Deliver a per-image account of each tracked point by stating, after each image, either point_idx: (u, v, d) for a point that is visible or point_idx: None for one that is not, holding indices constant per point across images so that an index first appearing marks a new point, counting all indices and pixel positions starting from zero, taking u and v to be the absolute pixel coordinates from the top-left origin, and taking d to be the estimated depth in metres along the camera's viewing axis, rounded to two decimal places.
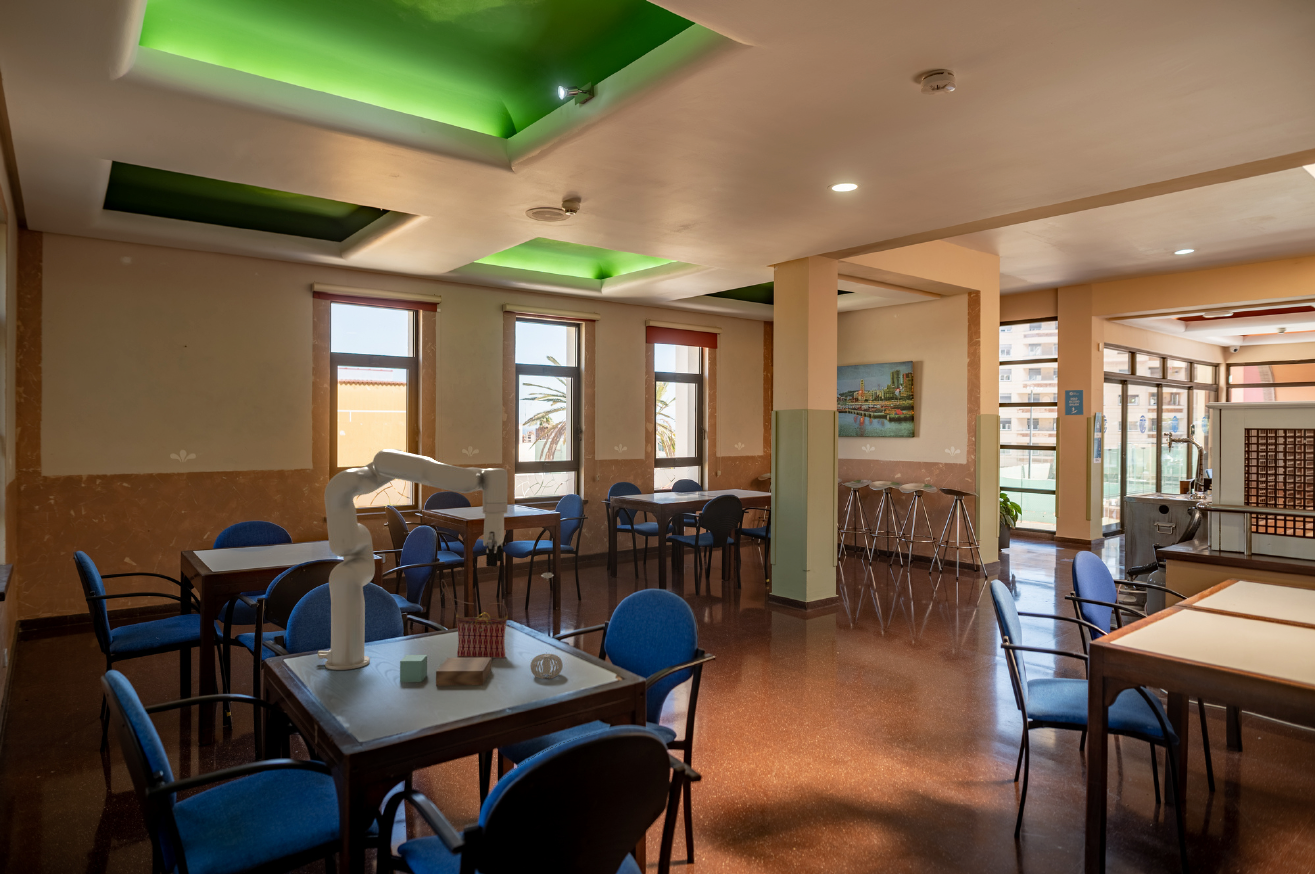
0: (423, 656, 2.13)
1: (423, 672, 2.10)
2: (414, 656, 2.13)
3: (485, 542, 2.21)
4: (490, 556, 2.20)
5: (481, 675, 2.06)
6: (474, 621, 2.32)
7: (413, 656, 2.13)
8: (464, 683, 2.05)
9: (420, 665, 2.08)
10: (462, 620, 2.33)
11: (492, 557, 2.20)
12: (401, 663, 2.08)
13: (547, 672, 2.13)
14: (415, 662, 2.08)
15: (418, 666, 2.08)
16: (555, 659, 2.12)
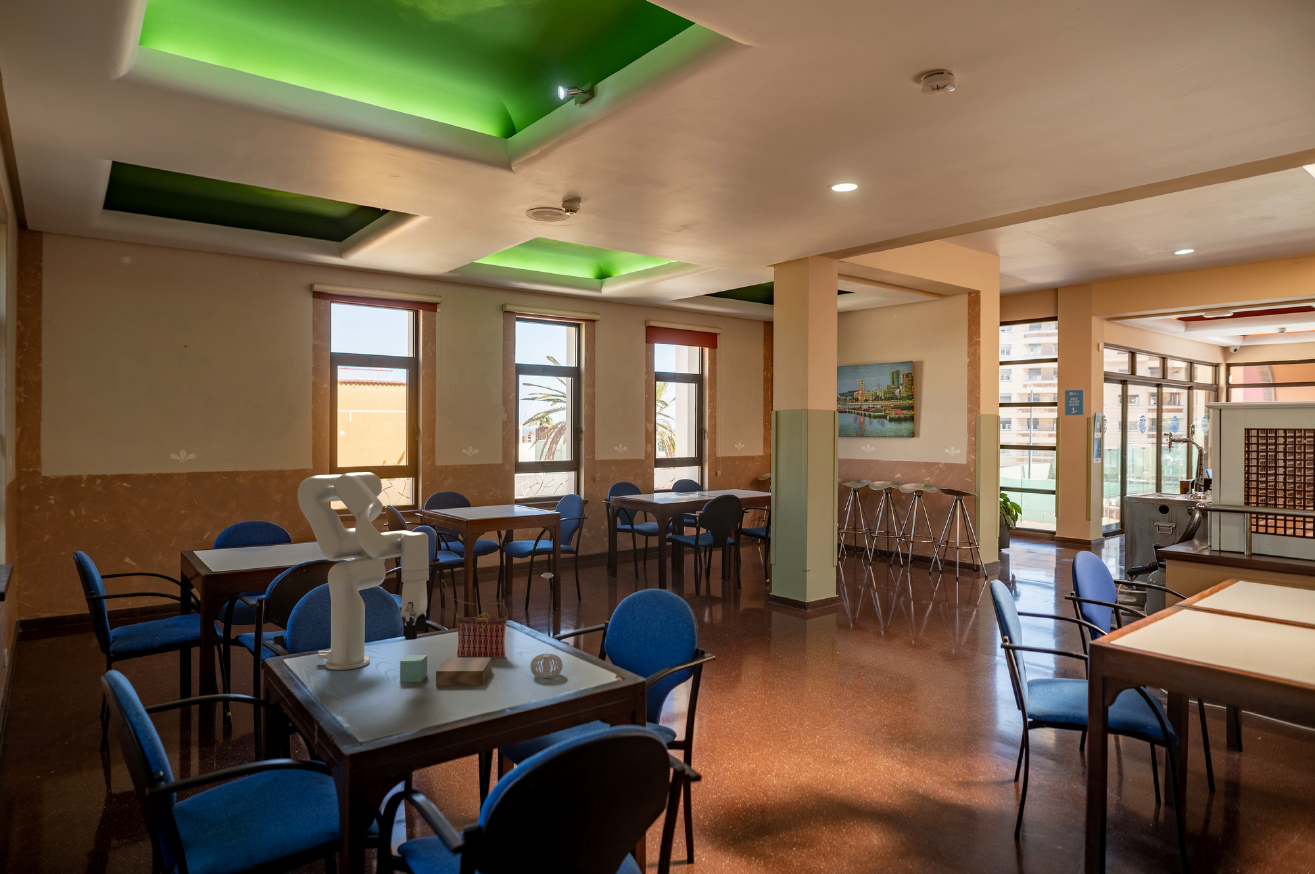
0: (423, 656, 2.13)
1: (423, 672, 2.10)
2: (414, 656, 2.13)
3: (403, 613, 2.06)
4: (408, 628, 2.05)
5: (481, 675, 2.06)
6: (474, 621, 2.32)
7: (413, 656, 2.13)
8: (464, 683, 2.05)
9: (420, 665, 2.08)
10: (462, 620, 2.33)
11: (411, 630, 2.05)
12: (401, 663, 2.08)
13: (547, 672, 2.13)
14: (415, 662, 2.08)
15: (418, 666, 2.08)
16: (555, 659, 2.12)
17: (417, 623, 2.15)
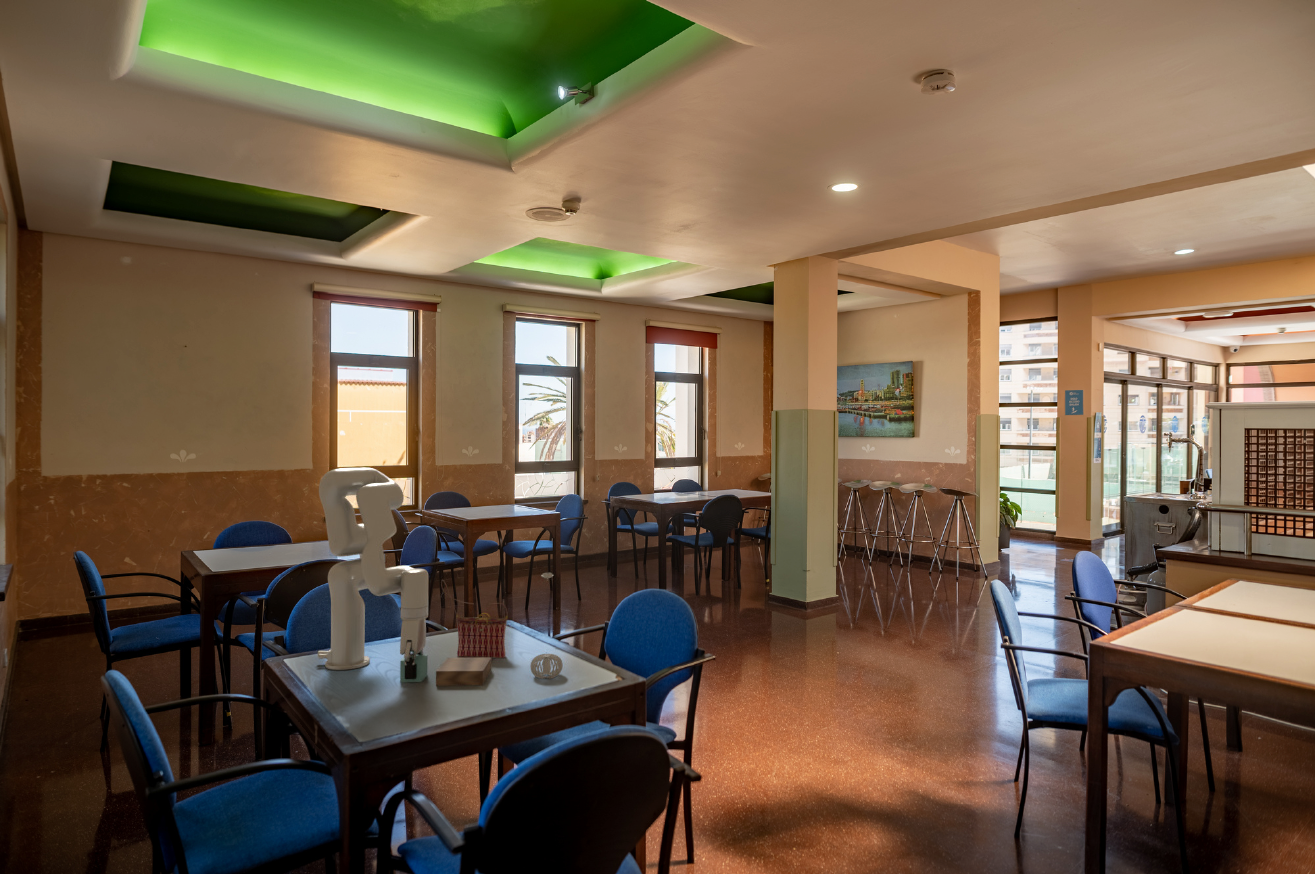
0: (423, 656, 2.13)
1: (423, 672, 2.10)
2: None
3: (402, 651, 2.06)
4: (408, 668, 2.07)
5: (481, 675, 2.06)
6: (474, 621, 2.32)
7: None
8: (464, 683, 2.05)
9: (420, 665, 2.08)
10: (462, 620, 2.33)
11: (410, 669, 2.07)
12: (401, 663, 2.08)
13: (547, 672, 2.13)
14: (416, 662, 2.08)
15: (418, 666, 2.08)
16: (555, 659, 2.12)
17: None
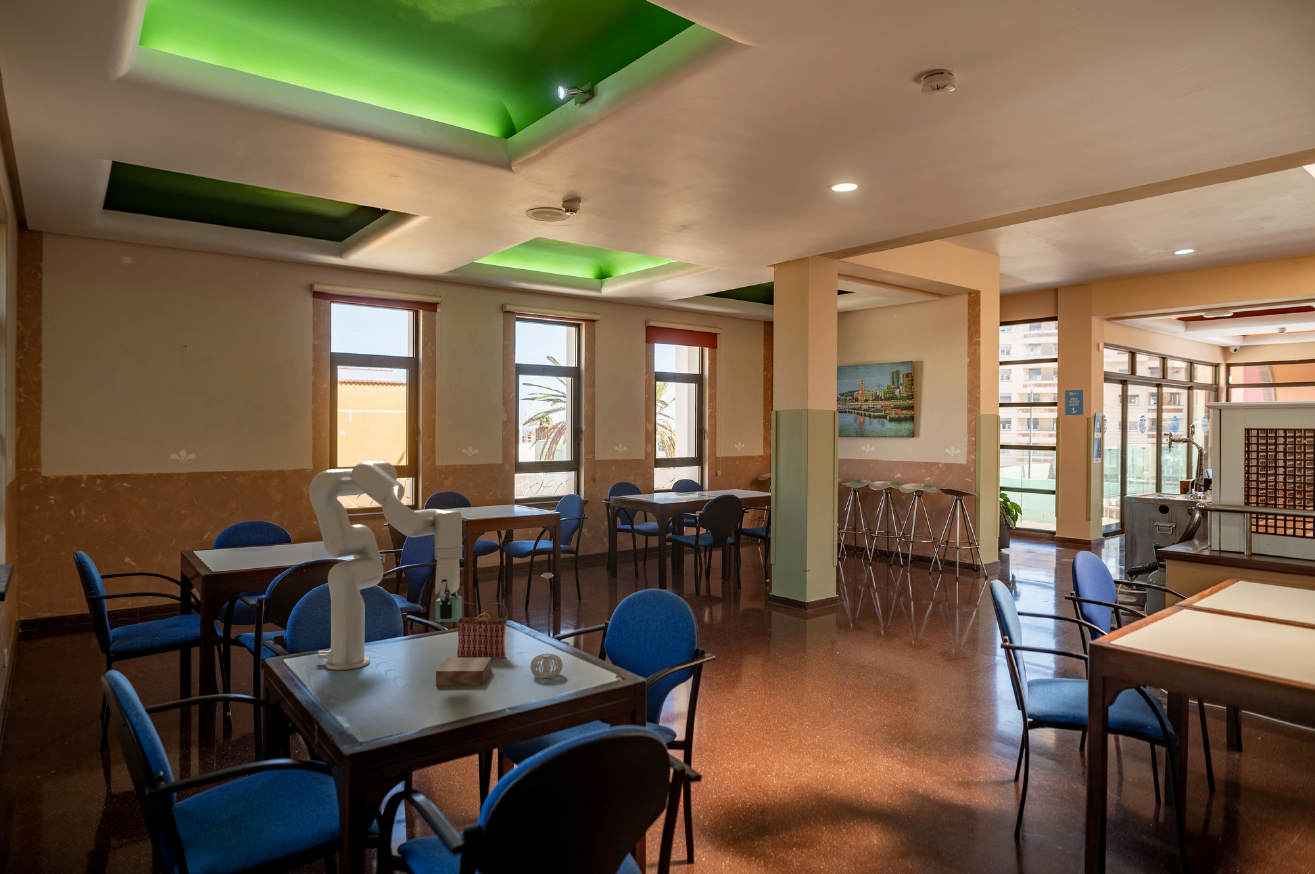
0: (458, 597, 2.13)
1: (458, 612, 2.11)
2: None
3: (437, 591, 2.07)
4: (443, 608, 2.07)
5: (481, 675, 2.06)
6: (474, 621, 2.32)
7: None
8: (464, 683, 2.05)
9: (455, 605, 2.09)
10: (462, 620, 2.33)
11: (446, 609, 2.07)
12: (436, 603, 2.09)
13: (547, 672, 2.13)
14: (451, 602, 2.09)
15: (453, 606, 2.09)
16: (555, 659, 2.12)
17: None
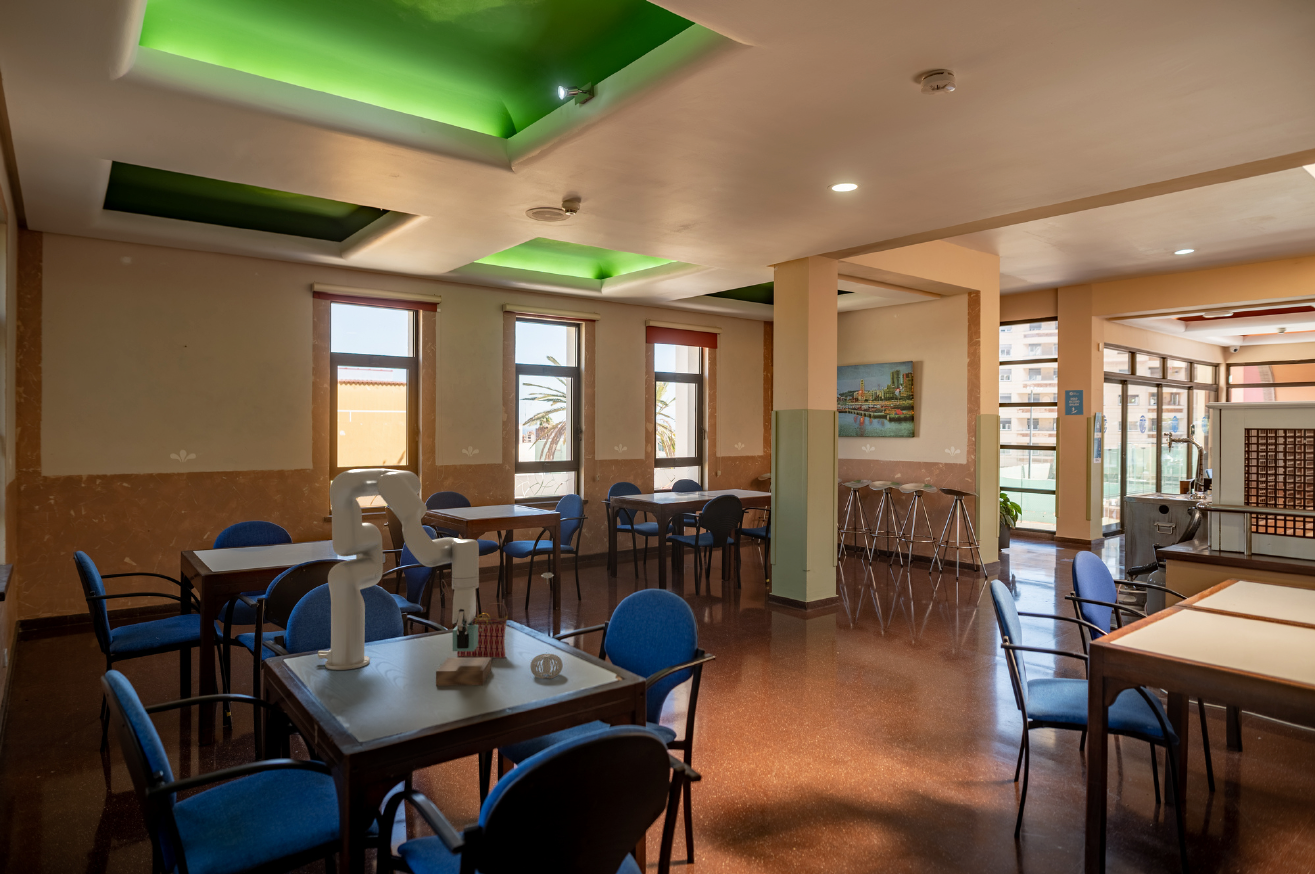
0: (474, 626, 2.13)
1: (475, 641, 2.11)
2: None
3: (454, 620, 2.07)
4: (460, 637, 2.08)
5: (481, 675, 2.06)
6: (474, 621, 2.32)
7: (464, 626, 2.13)
8: (464, 683, 2.05)
9: (472, 634, 2.09)
10: None
11: (463, 639, 2.08)
12: (453, 632, 2.09)
13: (547, 672, 2.13)
14: (468, 631, 2.09)
15: (470, 635, 2.09)
16: (555, 659, 2.12)
17: None
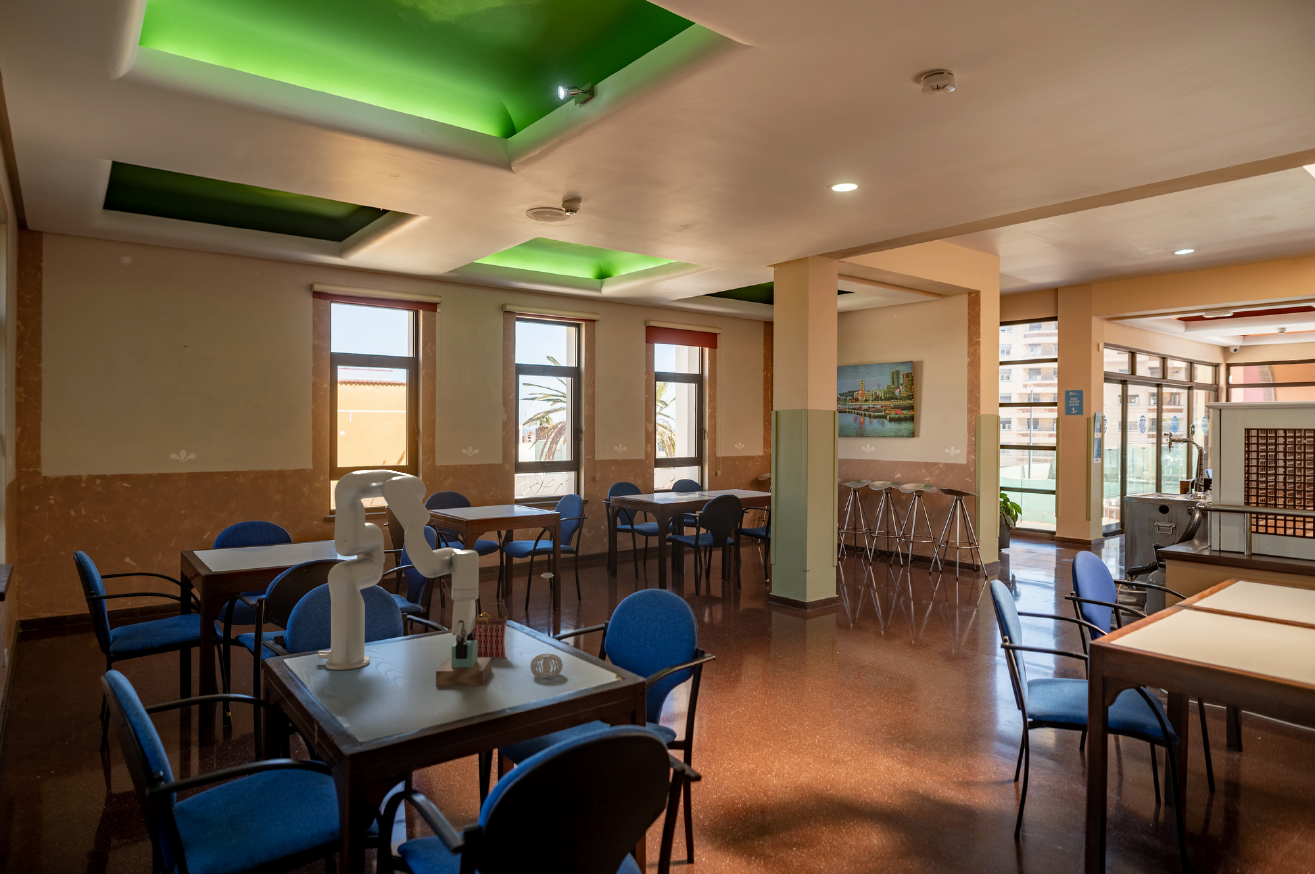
0: (473, 641, 2.13)
1: (474, 657, 2.11)
2: None
3: (454, 632, 2.07)
4: (459, 648, 2.07)
5: (481, 675, 2.06)
6: None
7: None
8: (464, 683, 2.05)
9: (471, 650, 2.09)
10: None
11: (461, 649, 2.07)
12: (453, 648, 2.09)
13: (547, 672, 2.13)
14: (467, 648, 2.09)
15: (469, 651, 2.09)
16: (555, 659, 2.12)
17: None
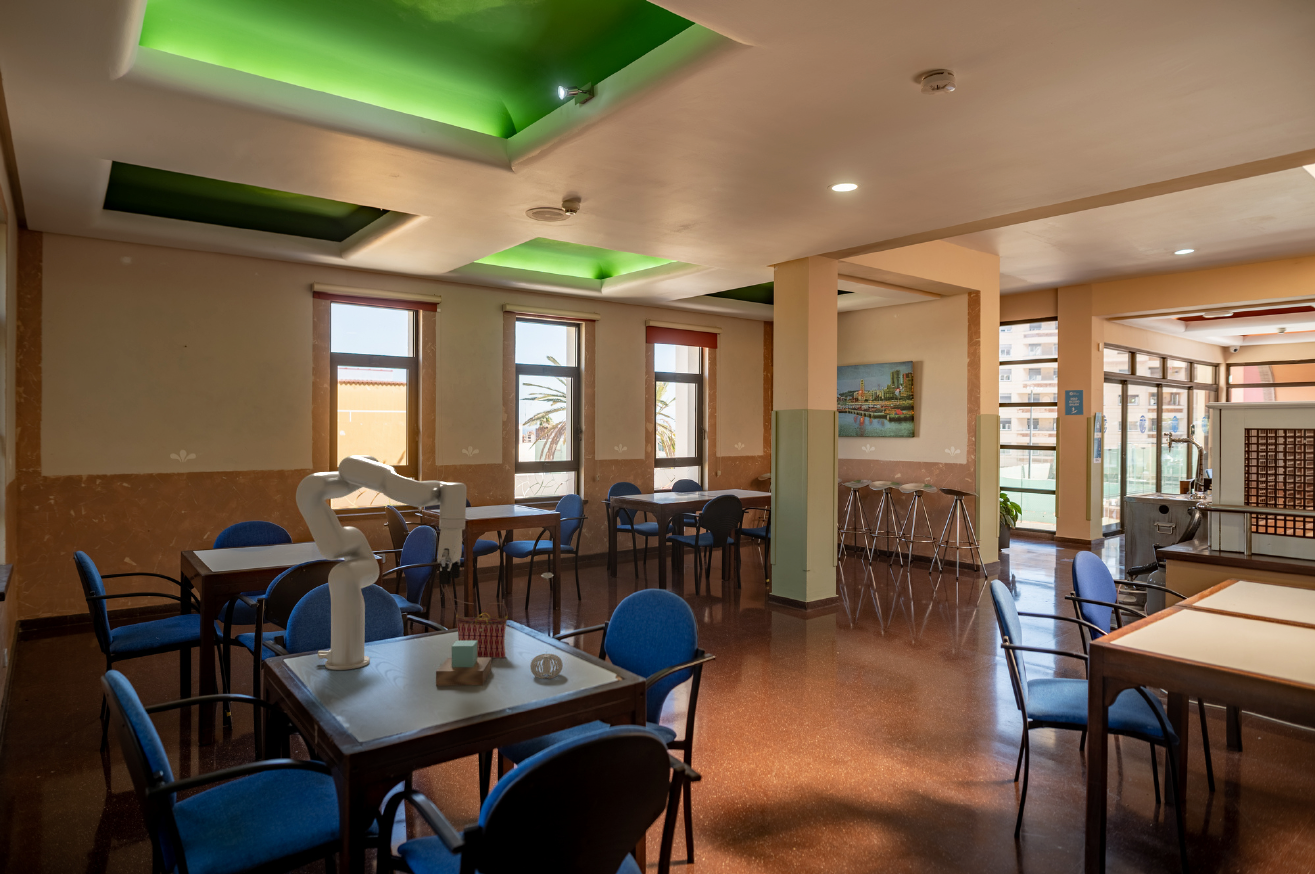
0: (473, 641, 2.13)
1: (474, 657, 2.11)
2: (464, 641, 2.13)
3: (439, 559, 2.14)
4: (443, 573, 2.13)
5: (481, 675, 2.06)
6: (474, 621, 2.32)
7: (463, 641, 2.13)
8: (464, 683, 2.05)
9: (471, 650, 2.09)
10: (462, 620, 2.33)
11: (445, 575, 2.13)
12: (453, 648, 2.09)
13: (547, 672, 2.13)
14: (467, 648, 2.09)
15: (469, 651, 2.09)
16: (555, 659, 2.12)
17: (451, 570, 2.24)
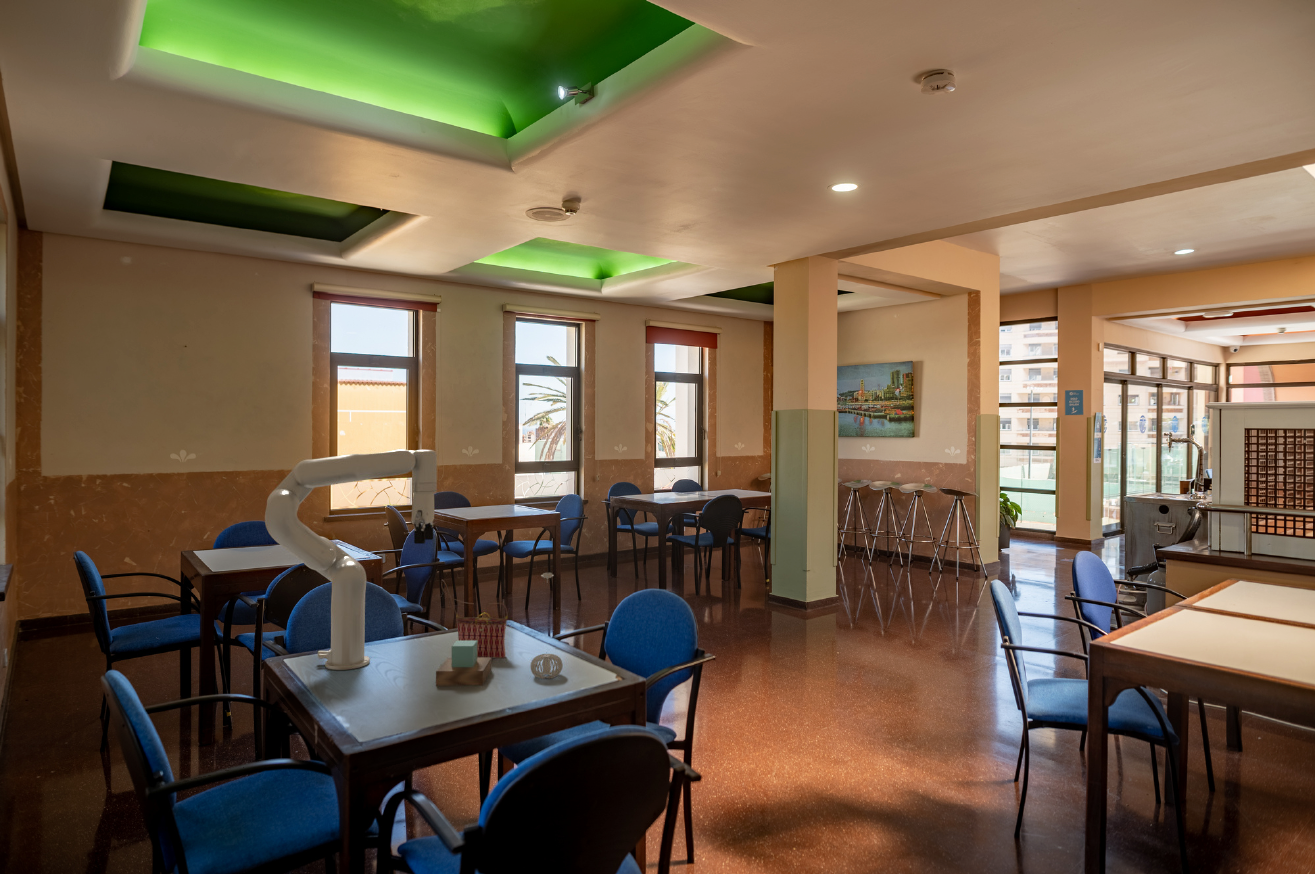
0: (473, 641, 2.13)
1: (474, 657, 2.11)
2: (464, 641, 2.13)
3: (413, 520, 2.30)
4: (417, 533, 2.30)
5: (481, 675, 2.06)
6: (474, 621, 2.32)
7: (463, 641, 2.13)
8: (464, 683, 2.05)
9: (471, 650, 2.09)
10: (462, 620, 2.33)
11: (419, 534, 2.30)
12: (453, 648, 2.09)
13: (547, 672, 2.13)
14: (467, 648, 2.09)
15: (469, 651, 2.09)
16: (555, 659, 2.12)
17: (425, 532, 2.40)
